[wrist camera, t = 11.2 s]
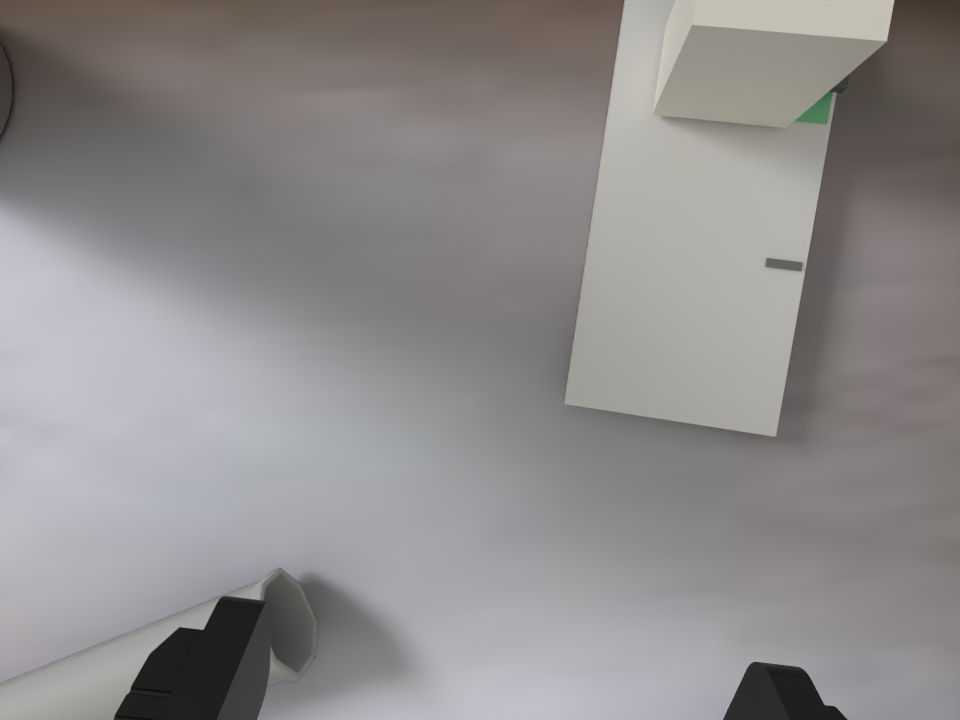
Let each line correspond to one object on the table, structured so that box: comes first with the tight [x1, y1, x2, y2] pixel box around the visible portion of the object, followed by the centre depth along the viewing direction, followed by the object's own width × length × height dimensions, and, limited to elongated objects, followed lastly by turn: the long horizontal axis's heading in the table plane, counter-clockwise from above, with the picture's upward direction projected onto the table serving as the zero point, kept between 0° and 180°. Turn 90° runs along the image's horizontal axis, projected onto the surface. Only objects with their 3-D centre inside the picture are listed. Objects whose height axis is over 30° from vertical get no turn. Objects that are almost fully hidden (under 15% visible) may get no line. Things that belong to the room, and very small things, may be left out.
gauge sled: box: [652, 0, 894, 128], centre depth 25 cm, size 8×5×9 cm, turn 82°
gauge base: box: [564, 0, 837, 437], centre depth 25 cm, size 10×28×12 cm, turn 172°
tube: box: [0, 568, 318, 720], centre depth 35 cm, size 5×5×25 cm
